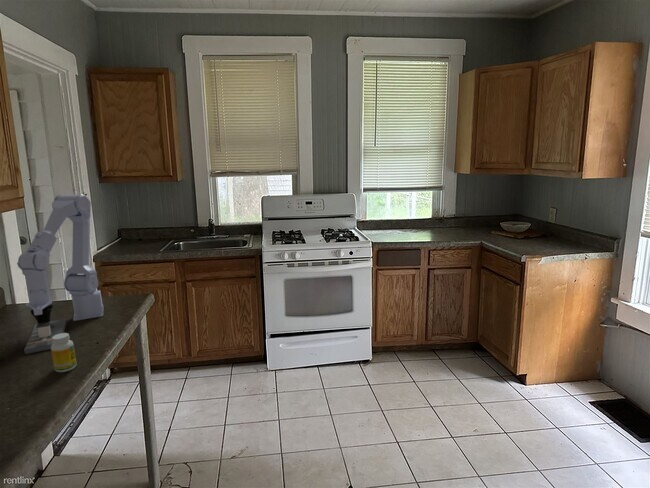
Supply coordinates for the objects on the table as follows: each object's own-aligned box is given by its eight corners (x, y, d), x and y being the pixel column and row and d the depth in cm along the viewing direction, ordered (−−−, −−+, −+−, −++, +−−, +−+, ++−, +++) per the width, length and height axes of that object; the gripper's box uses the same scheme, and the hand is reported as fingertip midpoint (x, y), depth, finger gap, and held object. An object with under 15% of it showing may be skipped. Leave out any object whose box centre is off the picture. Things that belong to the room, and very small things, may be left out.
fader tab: (51, 333, 141) (49, 321, 140) (50, 336, 138) (48, 324, 138) (39, 335, 139) (37, 323, 139) (38, 338, 137) (36, 326, 136)
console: (66, 322, 154) (65, 315, 153) (59, 347, 134) (58, 339, 134) (36, 327, 150) (35, 320, 149) (25, 354, 131) (23, 345, 130)
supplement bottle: (55, 366, 123) (50, 334, 120) (77, 361, 125) (72, 330, 123) (53, 374, 118) (47, 341, 116) (76, 369, 120) (71, 337, 118)
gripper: (27, 284, 143) (34, 323, 146) (18, 297, 130) (26, 340, 133) (52, 281, 146) (59, 319, 149) (46, 293, 133) (53, 335, 136)
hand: (45, 328), depth 141 cm, fingers closed
